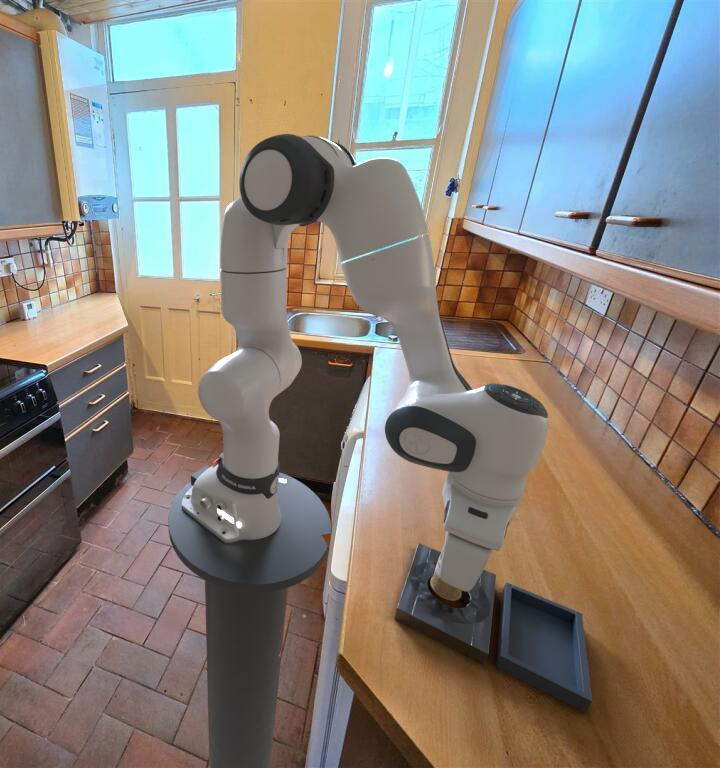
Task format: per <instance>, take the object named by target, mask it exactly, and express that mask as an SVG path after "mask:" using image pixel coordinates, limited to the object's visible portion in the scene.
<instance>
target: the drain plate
mask: <svg viewBox="0 0 720 768" xmlns="http://www.w3.org/2000/svg"><path fill="white" fill-rule="evenodd" d="M440 554H441V551H440V550H437V549H436V548H433V547H430V546H427V545H426V544H423V543H420V542H418V543H417V546H416V549H415V552H414V556H413V559H412V561H411V564H410V569H409V570H408V574H407V576H406V580H405V583H404V586H403V589H402V591H401V595H400V597H399V602H398V604H397V606H396V611H395V614H394V620H397V621H398V622H400V623H401V624H404V625H406V626H408V627H410V628H412V629H413V630H415V631H417V632H420V633H421V634H423V635H425V636H427V637H428V638H431V639H433V640H435V641H436V642H439V643H440V644H442V645H445V646H446V647H448V648H450V649H452V650H454V651H455V652H458V653H459V654H462V655H463V656H466V657H467V658H469V659H471V660H473V661H475V662H477V663H479V664H481V665H483V666H484V665H485V663H486V660H487V658H488V656H489V652H490V643H491V642H490V641H491V632H492V623H493V621H492V620H493V612H494V602H495V591H496V583H497V582H496V580H497V574H495V573H493V572H491V571H489V570H487V569H484V570H483V572H482V573H481V575H480V577H479V579H478V581H477V582H476V584H475V586H474V587H473V589H472V590H470V591H468V592H465V591H462V592H461V593H462V594H461V597H460V599H462V601H463V602H464V605H465V607H453V606H449V605H448V604H445V603H443V602H442V601H440V600H439V599H438V598H436V597H435V596H434V595H433V593H432V592H431V590H430V589H429V587H431V584H430V581H431V578H432V577H433V575H434V572H435V568H436V565H437V562H438V560H439V557H440Z"/></svg>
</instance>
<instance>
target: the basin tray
mask: <svg viewBox="0 0 720 768" xmlns="http://www.w3.org/2000/svg"><path fill="white" fill-rule="evenodd" d="M587 653H588V652H587V645H586V636H585V628H584V620H583V613H582V612H580V611H578V610H575V609H572V608H569V607H567V606H565V605H563V604H561V603H558V602H555V601H552V600H550V599H548V598H546V597H543V596H541V595H538V594H536V593H533V592H532V591H528V590H527V589H524V588H522V587H519V586H517V585H514V584H512V583H510V582H508V581H506V582H505V584H504V586H503V588H502V591H501V596H500V610H499V621H498V636H497V649H496V660H495V661H496V662H495V668H497V669H500V670H501V671H503V672H505V673H507V674H509V675H510V676H513V677H515V678H516V679H519V680H520V681H522V682H524V683H527V684H528V685H530V686H532V687H534V688H536V689H538V690H540V691H541V692H544V693H546V694H548V695H550V696H551V697H554V698H555V699H558V700H559V701H561V702H563V703H565V704H567V705H569V706H570V707H572V708H575V709H577V710H579V711H581V712H583V713H586V712H587V710H588V709H589V707H590V705H591V704H592V702H593V698H592V689H591V688H592V687H591V680H590V670H589V664H588V663H589V662H588V654H587Z"/></svg>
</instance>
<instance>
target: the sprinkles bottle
mask: <svg viewBox="0 0 720 768" xmlns="http://www.w3.org/2000/svg"><path fill="white" fill-rule="evenodd" d="M443 549H444V545H443V547H442V549H441V551H440V552H441V554H440V557H439V560H438V562H437V565H436V568H435V572H434V575H433V577H432V578H431V581H430V584H431V586H430V587H431V589H432V590H433V592H434V593H435V594H436V595H437V596H439V597H440V598H442V599H444V600H446V601H450V602H455V601H459V600H460V599H461V594H462V593H461V592H462V590H459V589H457V588H455V587H452V586H450V585H448V584H446V583H444V582H443V581H442V580H441V579H440V567H441V561H442V555H443Z"/></svg>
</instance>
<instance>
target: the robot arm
mask: <svg viewBox="0 0 720 768" xmlns="http://www.w3.org/2000/svg"><path fill="white" fill-rule="evenodd" d="M238 180H239V194H240V197H238V198H236V199H235V200H233V201H232V202H230V203H229V205H228V206H227V207H226V209H225V211H224V216H223V221H222V228H221V237H220V250H219V251H220V252H219V269H220V270H219V272H220V275H219V276H220V277H219V278H220V307H221V315H222V317H223V318H224V320H225V321H226V322H227V323H228V324H229V325H232V326H233V328H234V330H235V331H234V332H235V334H236V338H237V348H236V351H234V352H232V353H231V354H229V355H227V356H225V357H223V358H221V359H219V360H218V361H216V362H215V363H214V364H213V365H212V366H211V367H210V368H209V369H208V370H206V372H205V373H204V374H203V375H202V376H201V378H200V379H199V382H198V386H197V396H198V400H199V402H200V404H201V407H202V408H203V410H204V411H205V412H206V414H208V416H210V417H211V418H212V419H214V420H216V421H218V422H219V423H220V427H221V431H222V443H223V445H222V446H223V452H222V453H220V454H219V455H218V457H217V458H216V459H215V460H214V461H213V462H212V466H208V465H207V464H206V465H204V466H203V467H202V468H200V469H199V470H197V471H196V472H194V473H192V474H191V475H190V482H191V485H192V486H193V487H192V488H191V489H190V490H189V491H188V492H187V493H186V494H185V496H184V498H183V500H182V506H181V507H182V509H183V510H184V511H186V512H187V513H188V514H189V515H191V516H192V517H193V518H194V519H196V520H197V521H198V522H199V523H201V524H202V525H203V526H205V527H206V528H207V529H208V530H210V531H211V532H212V533H213V534H215V535H216V536H217V537H218V538H220V539H221V540H222V541H223V542H225V543H232V542H236V541H239V540H256V539H261V538H265V537H267V536H269V535H271V534H273V533H274V532H275V531H276V530H277V529H278V528H279V526H280V524H281V519H282V516H281V512H280V509H279V504H278V497H277V489H278V484H279V482H283V483H286V481H287V480H285V479H280V478H279V472H280V461H279V452H280V451H279V449H280V436H281V435H280V430H279V428H278V425H277V424H276V423H275V422H273V420H271V419H270V407H271V404H272V402H273V400H274V398H276V397H277V396H278V395H280V394H281V393H282V392H283V391H285V390H286V389H288V388H289V387H290V386H291V385H292V383H293V382H294V380H295V379H296V377H297V376H298V374H299V372H300V371H301V369H302V364H303V359H302V354H301V352H300V349H299V347H298V346H297V345H296V344H295V342H294V341H293V340H292V336H291V331H290V327H289V322H288V315H287V290H288V289H287V288H288V286H287V285H288V249H289V248H288V247H289V240H290V237H291V235H292V233H293V232H294V231H295V229H296V228H297V227H298V226H299V227H306V226H309V225H311V224H314V223H317V222H320V223H321V224H323V225H325V226H326V227H327V228H328V229H329V230H330V232H331V234H332V236H333V239H334V241H335V245H336V249H337V254H338V257H339V261H340V264H341V265H340V266H341V270H342V273H343V277H344V280H345V284H346V286H347V288H348V290H349V292H350V295H351V297H352V298H353V300H354V301H355V302H354V303H355V304H356V306H358V307H359V308H360V309H361V310H363V311H365V312H366V313H368V314H370V315H373V316H376V317H379V318H382V319H384V320H385V321H387V322H388V323H389V324H390V325H391V326H392V328H393V329H394V331H395V333H396V335H397V338H398V341H399V344H400V348H401V350H402V354H403V358H404V362H405V364H406V367H407V370H408V371H407V372H408V383H407V387H406V391H405V394H404V395H403V397H402V398H401V399H400V401H398V402H397V404H396V405H395V407H394V408H393V410H392V411H391V413H390V414H389V416H388V417H387V419H386V421H385V425H384V435H385V438H386V441H387V443H388V445H389V447H390V448H391V449H392V451H393V452H394V453H395V454H396V455H398V456H399V457H400V458H402V459H403V460H405V461H407V462H409V463H412V464H414V465H418V466H422V467H426V468H430V469H435V470H438V471H439V470H440V471H443V472H447V475H446V479H445V482H444V485H443V489H442V492H441V495H442V496H441V497H442V499H443V506H444V515H443V516H444V517H443V522H442V523H443V526H442V529H443V531H445V536H444V544H443V546H444V549H443V548H442V549H443V555H442V561H441V567H440V579H441V580H442V581H443V582H444V583H446V584H448V585H450V586H452V587H455V588H457V589H459V590H462V591H465V592H468V591H470V590H472V589H473V587H474V586H475V584H476V582H477V581H478V579H479V577H480V575H481V573H482V572H483V570H485V568H486V567H487V564H488V562H489V561H490V558H491V556H492V553H493V551H495V552H499V551H500V550H501V548H502V546H503V543H504V541H505V539H506V535H507V530H508V528H509V527H510V525H511V523H512V522H513V521H514V518H515V516H516V514H517V511H518V509H519V507H520V504H521V502H522V499H523V497H524V496H525V492H526V489H527V483H526V482H527V478H528V476H529V475H530V474H531V473H532V472H533V471H534V470H535V468H536V467H537V465H538V463H539V460H540V457H541V455H542V452H543V449H544V446H545V445H546V440H547V437H548V432H549V427H550V417H549V414H548V410H547V409H546V407H545V406H544V405H543V403H542V402H541V401H540V400H539V399H537V398H536V397H534V396H533V395H531V393H528V392H526V391H525V390H522V389H520V388H518V387H515V386H512V385H508V384H504V383H503V384H502V383H487V384H485V385H482V386H480V387H478V388H477V387H476V388H474V389H473V388H472V387H471V385H470V384H469V383H468V381H467V380H466V378H464V376H463V375H462V374H461V373H460V372H459V370H458V368H457V367H456V365H455V363H454V361H453V360H454V359H453V357H452V354H451V350H450V346H449V343H448V340H447V335H446V332H445V329H444V325H443V321H442V318H441V317H442V316H441V314H440V311H439V304H438V295H437V294H438V293H437V284H436V271H435V261H434V254H433V253H434V252H433V247H432V242H431V237H430V234H429V229H428V225H427V220H426V217H425V214H424V211H423V208H422V204H421V201H420V198H419V196H418V193H417V191H416V189H415V186H414V184H413V181H412V179H411V177H410V175H409V172H408V170H407V169H406V167H405V166H404V165H403V164H402V163H401V162H400V161H399V160H396V159H395V158H389V157H378V158H376V157H375V158H371V159H367V160H365V161H362V162H360V163H357V162H356V159H355V158H354V156H353V155H352V153H351V152H350V151H349V149H347V148H346V147H345V146H344V145H342V144H341V143H338V142H335V141H331V140H328V139H326V138H324V137H321V136H317V135H296V134H292V133H282V134H275V135H273V136H270V137H267V138H264V139H263V140H261V141H259V142H258V143H257V144H256V145H254V147H252V149H250V151H249V152H248V154H247V155H246V156H245V158H244V161H243V162H242V166H241V169H240V173H239V179H238Z"/></svg>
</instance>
